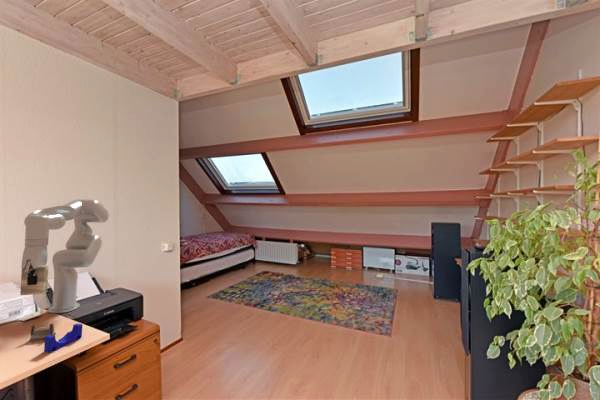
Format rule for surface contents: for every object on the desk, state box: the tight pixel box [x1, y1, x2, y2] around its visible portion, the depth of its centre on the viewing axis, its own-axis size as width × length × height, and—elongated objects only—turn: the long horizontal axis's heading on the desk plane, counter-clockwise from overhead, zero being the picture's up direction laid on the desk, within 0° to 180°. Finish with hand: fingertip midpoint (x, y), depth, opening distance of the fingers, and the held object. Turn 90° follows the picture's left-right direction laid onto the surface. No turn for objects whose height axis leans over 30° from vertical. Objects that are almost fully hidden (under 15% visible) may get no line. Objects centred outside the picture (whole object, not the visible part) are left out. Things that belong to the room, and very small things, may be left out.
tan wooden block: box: [20, 265, 49, 296], centre depth 119 cm, size 3×8×12 cm, turn 109°
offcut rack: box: [29, 323, 57, 342], centre depth 113 cm, size 4×7×6 cm, turn 110°
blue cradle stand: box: [43, 323, 83, 354], centre depth 109 cm, size 12×4×6 cm, turn 167°
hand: (34, 283), depth 119 cm, fingers closed on tan wooden block, 3 cm apart
